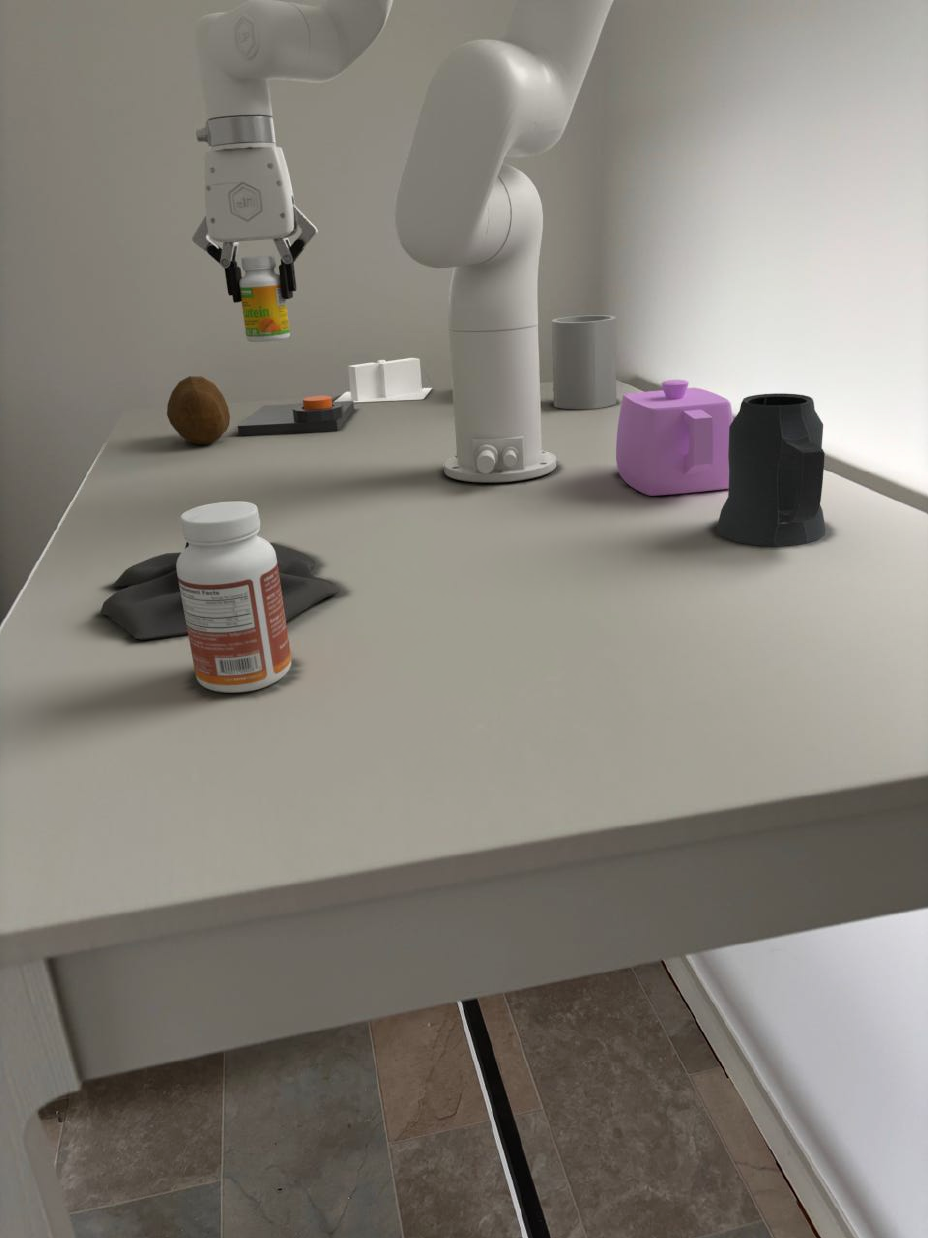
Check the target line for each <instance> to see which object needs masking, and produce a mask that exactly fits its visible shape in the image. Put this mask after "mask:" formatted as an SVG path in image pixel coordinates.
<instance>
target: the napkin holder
mask: <svg viewBox="0 0 928 1238" xmlns="http://www.w3.org/2000/svg"><path fill="white" fill-rule="evenodd" d="M347 371H348V381H349V391H345V392H344V393H343V394H341V395H340V396H339V397H338V398H337V399H335V400H334V401H333V402H341V401H353V402H354V403H371V402H373V403H374V402H375V403H376V402H392V401H395V402H397V401H416V400H417V401H418V400H419V401H420V400H424V399H425V398H426V397H427V395H428V394H429V393H430V392H431V390H432V389H433V387H426V386H424V387H422V386H423V385H422V372H421V371H422V370H421V358H417V357H406V358H400V359H394V360H393V359H392V360H387V361H386V359H379V360H377V361H376V362H365V363H359V364H358V363H357V364H351V365H347Z"/></svg>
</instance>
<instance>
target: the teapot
mask: <svg viewBox="0 0 928 1238" xmlns="http://www.w3.org/2000/svg"><path fill="white" fill-rule="evenodd" d="M661 387H662V389H661V390H660V389H659V390H648V391H637V392H629V393H624V395H622V399H621V402H620V403H621V404H620V411H619V416H618V423H617V432H616V442H615V443H616V444H615V445H616V446H615V461H616V462H615V463H616V467H617V471H618V474H619V476H620V477H621V479H622V480H623V481H624V482H625V483H626V484H627V485H628V486H630V487H631V488H632V489H634V490H636V491H638V492H639V493H641V494H644V495H646V496H650V497H656V496H667V495H668V496H669V495H670V496H671V495H680V494H691V493H692V494H693V493H700V492H701V493H702V492H710V491H720V490H727V489H728V490H729V460H728V449H729V426H730V424H731V423H732V421H733V420H734V416H733V409H732V404H731V402H730V401H729V400H728V398H725V397H724V396H721V395H719V394H718V393H715V392H712V391H709V390H707V389H703V388H699V387H689V381H687V380H685V379H669V380H664V381H662V382H661Z"/></svg>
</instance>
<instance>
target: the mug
mask: <svg viewBox="0 0 928 1238" xmlns="http://www.w3.org/2000/svg"><path fill="white" fill-rule="evenodd" d="M823 435H824V423H823V422H822V420H821V418H820V417H819V415H818V413H817V411H816V410H815V402H814V399H813V398H812V397H811V396H809V395H805V394H798V393H786V392H785V393H784V392H783V393H779V392H778V393H762V394H761V393H760V394H754V395H748V396H746V397H744V398H743V399H742V401H741V403H740V406H739V411H738V412H737V414H736V416H735V417H733V421H732V423H731V424H730V426H729V449H728V460H729V488H728V491H727V492H728V494H727V498H726V499H725V502H724V503H723V505H722V508H721V510H720V514H719V518H718V522H717V525H716V529H715V530H716V532H717V533H718V535H719V536H721V537H723V538H725V539H727V540H729V541H733V542H736V543H740V544H746V545H752V546H753V545H754V546H766V547H784V546H796V545H804V544H808V543H811V542H814V541H817V540H820V539H821V538H823V537H824V536H825V535H826V524H825V517H824V511H823V508H822V506H821V501H822V492H823V483H824V482H823V480H824V471H825V470H824V469H825V457H826V456H825V455H826V453H825V451H824V449H823V437H824V436H823Z"/></svg>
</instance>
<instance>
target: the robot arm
mask: <svg viewBox="0 0 928 1238" xmlns="http://www.w3.org/2000/svg"><path fill="white" fill-rule="evenodd" d="M393 2H394V0H322V1H321V2H320V3H319V4H317V5H316V6H312V5H309V4H308V5H307V4H302V3H297V2H290V1H282V0H246V1H245V2H242V3H241V4H239V5H237V6H235V7H234V8H232V9H230V10H228V11H224V12H223V11H222V12H221V11H220V12H213V13H209V14H205V15H204V16H201V17H200V18H198V20H196V23H195V25H194V41H195V47H196V55H197V61H198V68H199V74H200V75H199V76H200V83H201V90H202V96H203V104H204V110H205V116H206V121H205V125H204V127H202V128H200V129H199V128H197V129H196V130H195V135H196V140H197V142H198V143H203V142H204V143H205V144H207V145H208V147H209V148H210V151H204V152H203V195H204V207H205V216H204V218H202V219H203V220H202V221H201V223H200V224H199V226H198V227H197V229H196V230H195V232H194V234H193V235H192V238H191V239H192V240H191V241H192V242H193V243H194V244H195V245H196V246H198V247H199V248H201V249H202V250H203V251H205V252H206V253H207V254H208V255H209V256H210V257H211V258H212V259H214V260H215V261H216V262H217V263H218V264H219V265H220V266H221V267H222V268H223V269H224V275H225V282H226V289H227V294H228V296H232V302H233V303H234V304H235V303H236V304H237V303H242V302H241V295H240V287H239V281H240V279H241V278H242V277H243V276H242V268H241V267H240V266H238V261H237V256H238V250H239V244H240V242H249V241H251V242H252V241H253V242H254V241H265V240H267V241H268V240H273V243H274V245H275V247H276V250H277V252H278V254H279V256H280V264H279V265H278V274H279V275H280V281H281V289H282V297H283V298H284V299H286V300H290V299H293V298H294V292H296V291H297V281H296V279H297V278H296V272H295V264H294V263H295V262H297V259H298V258H299V256H300V255H301V254H302V252H303V251H304V250H305V249H306V247H307V246H308V245H309V244H310V243H311V241H312V240H313V239H314V238H315V237H316V236H317V234H318V233H319V231H318V228H317V226H316V225H314V224H313V222H312V221H311V220H310V219H308V217H307V216H306V215H305V214H304V213H303V212H302V211H301V210H300V208H299V209H298V207H297V206H296V202H295V196H294V192H293V186H292V181H291V177H290V171H289V168H288V164H287V161H286V158H285V154H284V150H283V148H282V147H281V146H277V144H276V143H277V142H276V141H277V140H276V133H275V124H274V118H273V115H274V114H273V108H272V100H271V90H270V83H269V80H275V81H276V80H277V81H295V82H301V83H303V82H304V83H313V84H314V83H315V84H321V83H327V82H329V81H331V80H334V79H335V78H338V77H339V76H341V74H343V73H344V72H345V71H347V70H348V69H350V67H351V66H353V65H354V64H355V62H357V61H358V60H359V59H360V58H361V57H362V56H363V55H364V54H365V53H366V52H367V51H368V50H369V48H371V47H372V45H373V44H374V43H375V42H376V41H377V40H378V38H379V37H380V35H381V33H382V32H383V31H384V27H385V26H386V23H387V21H388V17H389V15H390V12H391V11H392V10H391V9H392V6H393ZM613 3H614V0H514V1H513V5H512V8H511V12H510V15H509V17H508V20H507V23H506V25H505V27H504V29H503V33H502V35H501V37H500V39H499V40H496V39H489V38H488V39H487V38H482V39H480V38H479V39H474V40H470V41H467V42H465V43H463V44H461V45H459V46H457V47H456V48H455V49H453V50H452V51H451V52H450V53H449V54H448V55H447V56H446V57H445V58H444V59H443V60H442V62H440V64H439V66H438V67H437V69H436V71H434V74H433V76H432V77H431V79H430V82H429V84H428V87H427V90H426V93H425V96H424V99H423V102H422V106H421V109H420V111H419V114H418V118H417V122H416V125H415V129H414V132H413V136H412V139H411V142H410V145H409V149H408V152H407V155H406V159H405V162H404V166H403V168H402V172H401V175H400V179H399V183H398V186H397V191H396V195H395V202H394V208H393V209H394V211H393V213H394V214H393V216H394V218H393V219H394V228H395V231H396V235H397V238H398V241H399V243H400V245H401V247H402V249H403V250H404V251H405V253H406V254H407V255H408V256H409V258H411V259H412V260H414V262H416V263H418V264H420V265H422V266H424V267H427V268H433V269H451V268H453V271H452V275H451V279H450V285H449V291H448V303H447V315H448V333H449V334H448V336H449V337H448V338H449V349H450V350H449V351H450V352H449V353H450V366H451V367H450V368H451V383H452V399H453V413H454V416H453V417H454V429H455V431H454V432H455V446H456V447H455V448H456V454H455V455H453V456H451V457H449V458H447V459H446V460H445V461H444V462H443V471H444V474H445V475H446V476H447V477H449V478H451V479H452V480H453V479H454V480H458V481H461V482H466V483H467V482H469V483H484V484H488V483H489V484H491V483H495V484H496V483H509V482H520V481H526V480H530V479H531V480H532V479H534V478H539V477H542V476H545V475H548V474H550V473H552V472H553V471H554V470H555V469H556V468H557V457H556V455H555V454H554V453H552V452H550V451H547V450H543V441H542V411H541V410H542V409H541V408H542V407H541V405H542V404H541V378H540V347H539V306H538V305H539V303H538V300H539V299H538V285H539V284H538V283H539V281H538V279H539V265H540V254H541V246H542V238H543V231H544V212H543V204H542V200H541V197H540V194H539V192H538V189H537V188H536V186H535V185H534V183H533V182H532V180H531V179H530V177H528V176H527V174H525V173H524V172H523V171H521V170H520V169H518V168H516V167H514V166H512V165H509V164H507V163H504V160H505V158H525V157H533V156H539V155H543V154H544V153H546V152H548V151H550V150H551V149H552V148H553V147H554V146H555V145H557V143H558V142H559V141H560V140H561V138H562V136H563V134H564V132H565V130H566V128H567V125H568V122H569V120H570V118H571V115H572V112H573V110H574V106H575V104H576V102H577V99H578V96H579V94H580V91H581V88H582V87H583V86H582V85H583V83H584V80H585V77H586V75H587V73H588V70H589V67H590V64H591V62H592V59H593V56H594V54H595V52H596V48H597V46H598V43H599V39H600V37H601V34H602V31H603V28H604V26H605V23H606V20H607V17H608V15H609V13H610V10H611V7H612V6H613ZM298 227H299V228H300V229H301V233H300V234H299V236H297V238H296V239H295V240H294V241H293V243H292V244H291V243H290V240H289V238H290V237H292V236H294V235H296V233H297V232H298V229H299V228H298ZM210 238H211V239H210ZM213 241H215V242H217V243H222V248H221V247H220V246H219V245H217V244H216V243H214V242H213Z"/></svg>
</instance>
